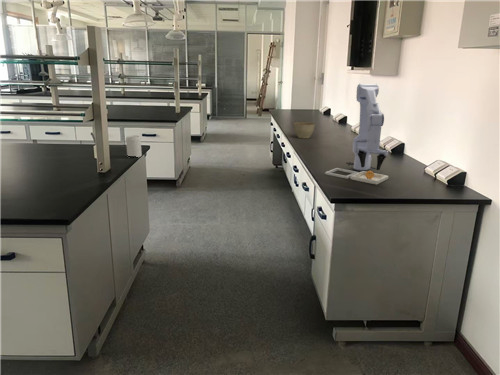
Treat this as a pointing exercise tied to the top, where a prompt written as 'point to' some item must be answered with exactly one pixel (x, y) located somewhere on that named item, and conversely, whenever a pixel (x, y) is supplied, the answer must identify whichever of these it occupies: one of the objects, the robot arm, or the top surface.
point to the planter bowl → (304, 129)
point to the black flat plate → (353, 164)
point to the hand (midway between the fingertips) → (370, 168)
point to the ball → (369, 174)
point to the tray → (342, 171)
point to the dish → (375, 180)
